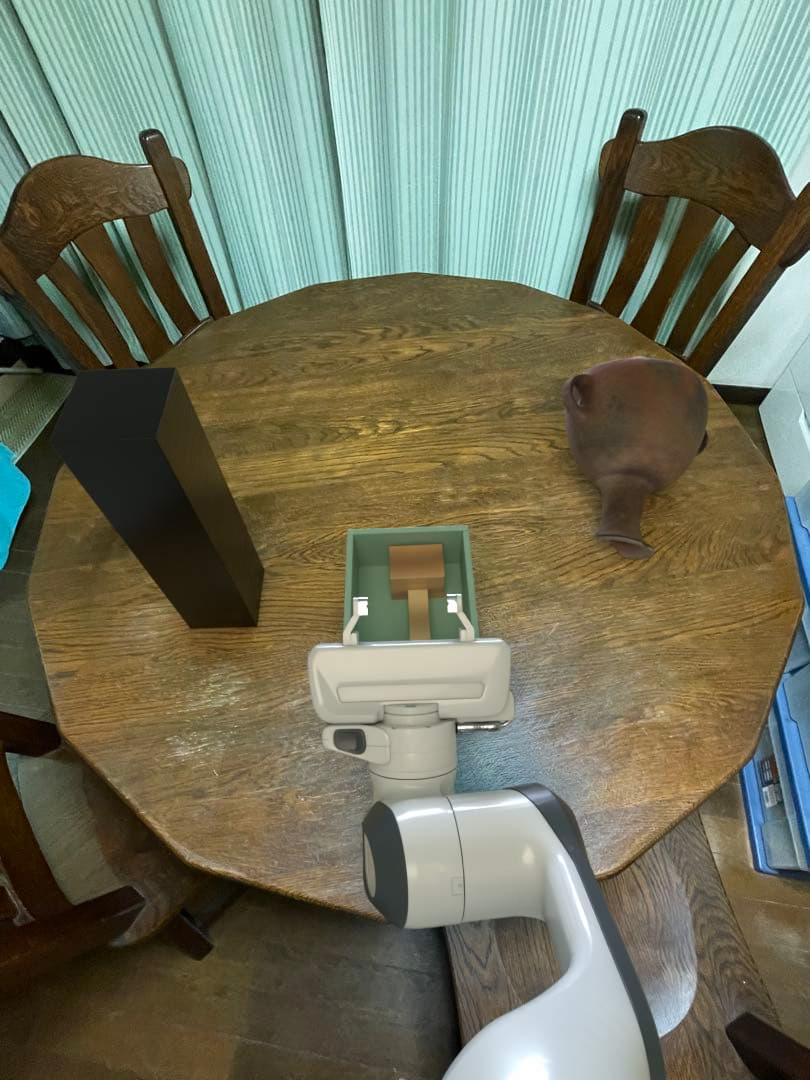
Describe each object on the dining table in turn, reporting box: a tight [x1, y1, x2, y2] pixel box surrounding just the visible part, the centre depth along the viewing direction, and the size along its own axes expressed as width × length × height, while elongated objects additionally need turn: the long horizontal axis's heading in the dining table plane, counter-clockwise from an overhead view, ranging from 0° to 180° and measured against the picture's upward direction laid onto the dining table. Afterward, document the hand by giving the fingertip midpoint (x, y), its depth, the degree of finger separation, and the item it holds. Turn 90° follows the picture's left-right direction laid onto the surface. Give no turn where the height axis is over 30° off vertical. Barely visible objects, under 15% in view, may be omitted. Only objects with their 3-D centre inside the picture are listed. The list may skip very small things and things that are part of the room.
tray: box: [342, 524, 481, 642], centre depth 74 cm, size 22×16×10 cm
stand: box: [48, 366, 265, 630], centre depth 67 cm, size 9×9×36 cm
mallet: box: [389, 544, 445, 641], centre depth 75 cm, size 15×7×6 cm, turn 2°
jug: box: [561, 355, 710, 561], centre depth 83 cm, size 20×20×30 cm
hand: (407, 595), depth 60 cm, fingers open, 8 cm apart
